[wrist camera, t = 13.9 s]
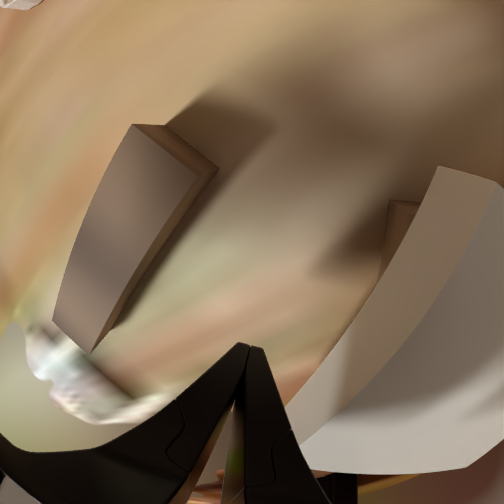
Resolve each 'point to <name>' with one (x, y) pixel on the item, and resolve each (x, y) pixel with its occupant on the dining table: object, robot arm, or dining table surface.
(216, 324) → the dining table surface
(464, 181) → the slab
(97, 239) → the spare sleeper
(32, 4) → the white cup
